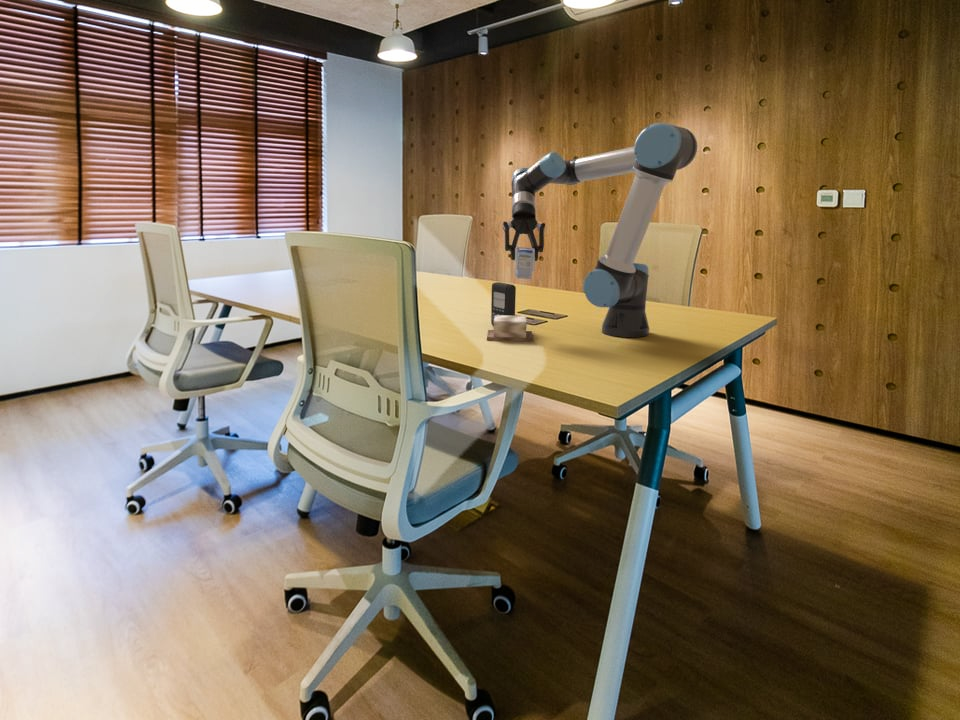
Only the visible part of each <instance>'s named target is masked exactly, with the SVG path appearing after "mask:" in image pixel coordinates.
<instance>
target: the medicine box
mask: <svg viewBox="0 0 960 720" xmlns="http://www.w3.org/2000/svg"><path fill="white" fill-rule="evenodd" d="M517 248H518V267H517V270H514V273H515V276H516V278H517V279H525V280H527V279H532V275H533V274H532V273H533V271H532V261H533V251H532V247H531V248H530V247H524V246H523V247H521V246H520V247H517Z"/></svg>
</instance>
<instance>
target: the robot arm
mask: <svg viewBox="0 0 960 720" xmlns="http://www.w3.org/2000/svg"><path fill="white" fill-rule="evenodd" d="M697 152H698V142H697V138H696V136H695V135H694V133H693V132H692V131H691V130H689V129H688V128H684V127H680V126H678V125H673V124H672V123H667V122H655V123H651V124H649V125H648V126H647V127H645V128H644V129H642V130H641V132H640V133H639V134H638V136H637V137H636V140H635V142H634V146H630V147H624V148H621V149H616V150H615V149H614V150H610V151H606V152H602V153H596V154H592V155H587V156H582V157H578V158H573V159H569V160H565V159H564V158H563V156H561V154H558V152H555V151H551V152H549V153H548V154H546V155H544V156H542V157H541V159H539V160H538V161H537V162H535V163H533V165H532V166H531V167H529V168H527V167H521V168H518V169H516V170H515V171H514V172H513V174H512V177H511V184H510V185H511V219H510V221H509V222H508V221H503V222H502V223H503V224H502V230H503V232H504V250H505V252H510V260H511V261H514V271H516V270H517V267H518V247H517V245H518V242H519V238H520V235H523V234H524V235H527V237H528V239H529V243H530V246H531V249H532V251H533V261H532V272H534V271H535V268H536V262H537V261H538V260H539V253H543V252H544V248H545V236H544V235H545V232H544V231H545V229H546V223H545V222H542V223H538V220H537V216H536V214H537V213H536V193H537V192H539V191H540V190H542V189H543V188H545V187H546V186H548V185H549V184H556V185H567V186H573V185H578V184H579V183H581V182H587V181H592V180H593V181H594V180H600V179H604V178H609V177H615V176H620V175H626V174H631V173H634V175H635V176H634V179H633V182H632V184H631V187H630V190H629V193H628V195H627V198H626V200H625V203H624V204H623V209H622V211H621V213H620V216H619V218H618V221H617V224H616V227H615V229H614V232H613V234H612V237H611V239H610V242H609V245H608V247H607V250H606V253H605V254H604V255H601V256H599V258H598V260H597V262H596V265H595V266H594V269H593V270H591V271H589V272H588V273H587V274H586V275H585V277H584V280H583V283H582V285H583V286H582V289H583V294H584V295H585V298H586V299H587V301H588V302H589V303H590V304H591V305H593V306H595V307H597V308H608V310H607V313H606V314H605V316H604V319H603V322H602V324H601V332H602V334H605V335H608V336H613V337H618V336H619V337H620V338H641V337H640V336H644V337H647V336H649V335H648V334H650V325H649V321H648V317H647V313H646V302H647V296H648V295H647V293H648V283H649V277H650V276H649V275H650V274H649V267H648V265H647V264H645V263H638V262H635V260H636V257H637V254H638V252H639V250H640V248H641V245H642V243H643V240H644V238H645V235H646V233H647V231H648V229H649V228H648V227H649V225H650V222H651V220H652V217H653V216H654V212H655V211H656V208H657V206H658V204H659V200H660V198H661V195H662V194H663V190H664V188H665V186H666V185H668V184H669V183H671V182H673V180H674V178H675V176H676V173H677V171H678V170H682V169H684V168H686V167H687V166H689V165H691V163H692V162H693V161H694V159H695V157H696V156H697ZM511 228H512V229H513V230H514V231H515V233H514V236H513V239H512V243H511V244H510V230H511ZM536 228H537V231H538V242H537V239H536V236H535V232H534V230H535V229H536ZM646 335H647V336H646Z"/></svg>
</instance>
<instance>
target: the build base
mask: <svg viewBox="0 0 960 720" xmlns="http://www.w3.org/2000/svg"><path fill="white" fill-rule="evenodd" d="M527 327H528V325H527V316H526V315H515V316H508V315H495V317H494V326H493V329H488V330H487V333H486V341H491V340H507V341H506V342H530V341H532V342H531V343H533V341H534V340H533V339H534V338H533V334H532V333H533V331H531V330H527Z"/></svg>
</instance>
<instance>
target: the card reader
mask: <svg viewBox="0 0 960 720" xmlns="http://www.w3.org/2000/svg"><path fill="white" fill-rule="evenodd" d="M516 289H517V287H516V286H515V285H514V284H511V283H506V282H500V281H499V282H493V283H492V284H491V301H490V302H491V304H490V305H491V312H490V315H491V316H490V318H491V319H490V321H491V322H490V323H491V326H492V327H494V317H495V315H508V316H516V295H517V294H516V293H517V292H516V291H517V290H516Z"/></svg>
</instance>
